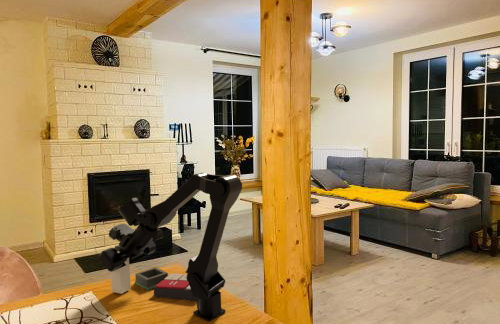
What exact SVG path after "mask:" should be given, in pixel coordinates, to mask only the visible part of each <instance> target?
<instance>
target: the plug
mask: <svg viewBox="0 0 500 324" xmlns="http://www.w3.org/2000/svg"><path fill="white" fill-rule="evenodd" d="M114 248H115V249H116V251H117V252H118V253H120V252H119V249H122V247H120V246H119V244H118V245H115V246H114ZM124 263H125V264H126V266H124V267H122V268H119V269H117V270H114V271H112V272H110V285H111V292H112V293H116V294H121V295H123V294H124V293H126V292H128V291H129V290H131V289H132V288H131V286H132V285H131V271H130V264H129V258H127V261H126V262H124Z"/></svg>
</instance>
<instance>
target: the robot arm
mask: <svg viewBox="0 0 500 324" xmlns="http://www.w3.org/2000/svg"><path fill="white" fill-rule="evenodd" d="M242 189H243V182H242V181H241V179H240V178H239V177H238V175H235V174H228V175H219V174H210V173H205V172H199V173H194V174H192V175H191V176H190V177H189V179H188V180H186V181H185V182H184V183H183V184H182V185H180V187H178V188H177V189H176V190H175V191H174V192H173V193H171V195H170V196H168V197H167V198H166V199H165V200H164V201H162V202H160V203H158V204H156V205H153V206H152V207H150V208H148V209H147V210H146V209H145V208H144V206H143V205H142V204H141V202H140V201H139V199H138V198H137V197H133V198H130V199H129V200H128V201H126V202H125V203H124V204H122V205H120V206H119V209H118V212H119V214H120V215H121V216H122V218H123V219H124V221H125V222H126V223H127V224H126V223H120V224H117V225H115V226H113V227H111V228H110V230H109V231H108V237H109V238H111V239H112V240H113V241H115V240H116V241H118V242H119V243H118V245H119V246H120V247H122V249H119V252H120V253H118V252H117V251H116V249H115V247H109V248H107V249H104V250H102V251H101V252H100V254H99V255H98V258H99V260H100V261H101V263H102V264H103V265H104V266H105V268H106V269H107V271H108V272H110V273H111V272H112V271H114V270H117V269H119V268H122V267H124V266H126V264H125V263H124V262H126V261H127V258H129V265H130V264H132V263H135V262H137V261H139V260H141V259H143V258H145V257H146V255H145V253H144V251H145V249H146V250H147V252H146V254H147V256H149V255H151V254H153V253H155V252H156V250H157V245H156V243H155V241H158V240H161V239H163V238H164V233H163V230H162V229H160V227H162V226H165V225H168V224H171V222H172V221H173V219H174V218H175V217H176V214H177V212H178V211H179V209H180V208H182V207H183V206H185V204H187V203H188V202H189V201H190V200H191V199H192V198H193V197H195V196H196V195H197V194H199V192H202V193H204V194H207V195H209V200H210V204H211V208H210V212H209V216H208V219H207V224H206V226H205V231H204V234H203V239H202V240H201V244H200V250H199V253H198V254H197V255H194V256H193V257H191V258H190V259H189V260H188V262H187V263H188V265H187V268H186V271H185V274H187V281H188V282H189V285H190V288H191V291H192V294H193V296H194V297H197V301H196V310H194V311H193V315H194V316H197V317H200V318H201V319H203V320H206V321H208V322H210V321H211V320H213V319H216V318H217V317H219V316H221V315H223V314H224V313H226V309H225V308H222V292H221V291H220V290H221V289H222V288H224V287H225V284H226V279H225V278H224V276H223V275H222V274H221V273H220V272H219V262H218V259H217V255H218V251H219V248H220V245H221V241H222V237H223V234H224V232H225V231H224V230H225V227H226V224H227V220H228V216H229V212H230V210H231V209H232V207H233V206H234V204H235V203H236V201H237V200H238V198H239V196H240V194H241V193H242ZM131 226H134V227H136V228H135V229H134V228H132V227H131Z"/></svg>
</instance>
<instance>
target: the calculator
mask: <svg viewBox="0 0 500 324" xmlns="http://www.w3.org/2000/svg"><path fill="white" fill-rule="evenodd" d="M153 297H155V298H156V297H157V298H162V299H163V298H164V299H165V298H166V299H174V300H185V301H188V300H189V301H190V302H197V297H194V296H193V294H192V291H191V288H190V285H189V282H188V281H187V273H185V274H184V273H170V274H168V276H167V277H166V278H165V279H164V280H162V281H161V282H160V283H158V284H157V285H156V287H154V288H153Z"/></svg>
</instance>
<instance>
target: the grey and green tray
mask: <svg viewBox="0 0 500 324" xmlns="http://www.w3.org/2000/svg"><path fill="white" fill-rule="evenodd" d="M134 275H135V276H134V277H135V280H134V284H136V285H137V286H139V287H141V288H142V289H144V290H146V291H150V290H152V289H153V290H154V287H156V285H157V284H158V283H160V282H161V281H162V280H164V279H165V278H166V277H167V276H168V275H169V274H168V272H166V271H165V270H162V269H160V268H158V267H156V266H155V267H152V268H149V269H146V270H143V271H140V272H137V273H135V274H134Z"/></svg>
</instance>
